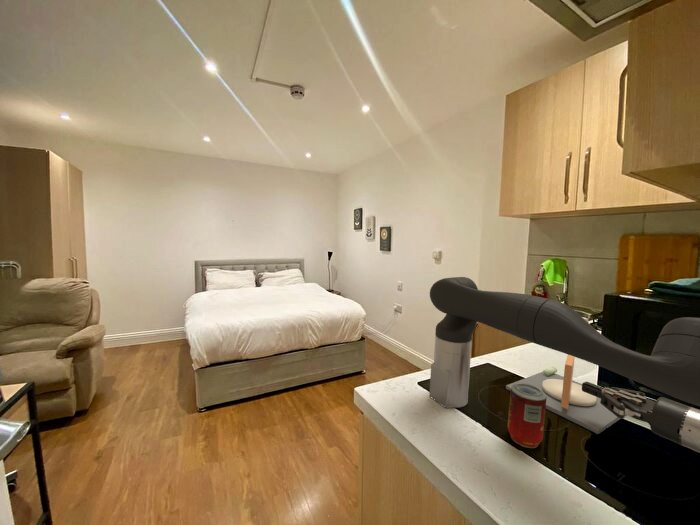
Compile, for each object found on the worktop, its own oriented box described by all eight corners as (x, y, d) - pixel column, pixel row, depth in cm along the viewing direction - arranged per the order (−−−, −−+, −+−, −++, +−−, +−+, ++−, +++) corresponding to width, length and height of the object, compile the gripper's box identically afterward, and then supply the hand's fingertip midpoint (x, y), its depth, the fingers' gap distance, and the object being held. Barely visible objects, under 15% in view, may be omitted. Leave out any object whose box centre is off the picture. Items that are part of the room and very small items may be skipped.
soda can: (549, 450, 60) (554, 397, 59) (518, 450, 60) (522, 396, 59) (529, 429, 67) (533, 381, 66) (500, 429, 67) (504, 380, 66)
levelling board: (595, 436, 65) (596, 424, 65) (502, 389, 84) (503, 380, 84) (636, 407, 77) (637, 397, 77) (547, 372, 96) (547, 364, 96)
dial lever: (545, 378, 89) (548, 340, 88) (596, 393, 81) (600, 351, 80) (535, 403, 76) (539, 358, 74) (595, 423, 68) (601, 373, 67)
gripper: (702, 400, 59) (597, 365, 74) (682, 418, 52) (571, 376, 67) (697, 434, 60) (593, 393, 74) (676, 457, 53) (568, 407, 68)
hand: (583, 385), depth 71 cm, fingers closed
